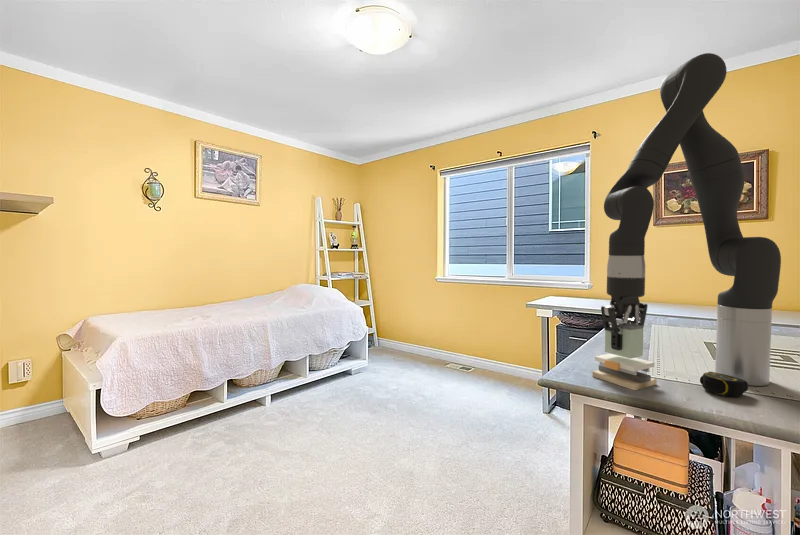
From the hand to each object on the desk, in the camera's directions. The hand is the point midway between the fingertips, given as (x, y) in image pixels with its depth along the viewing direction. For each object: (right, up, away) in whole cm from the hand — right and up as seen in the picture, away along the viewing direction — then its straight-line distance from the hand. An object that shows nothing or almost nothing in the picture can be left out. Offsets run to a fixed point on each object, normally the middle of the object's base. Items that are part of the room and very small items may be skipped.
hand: (623, 347), depth 84 cm
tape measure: (+17, -8, -7) cm, 20 cm away
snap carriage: (0, -5, 0) cm, 5 cm away
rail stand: (0, -8, 0) cm, 8 cm away
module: (0, -1, 0) cm, 1 cm away
